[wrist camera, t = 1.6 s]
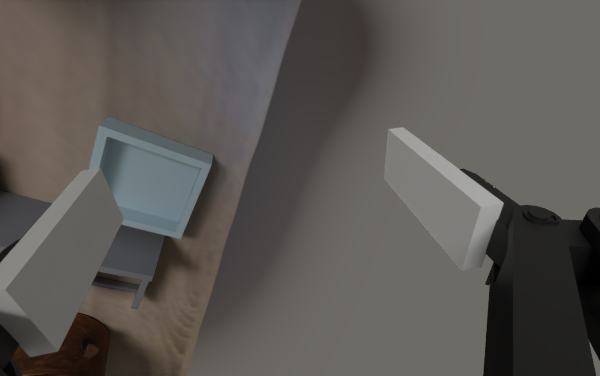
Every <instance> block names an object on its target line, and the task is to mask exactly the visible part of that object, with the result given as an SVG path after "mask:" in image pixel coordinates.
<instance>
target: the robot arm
mask: <svg viewBox="0 0 600 376" xmlns="http://www.w3.org/2000/svg"><path fill="white" fill-rule="evenodd" d="M384 179H385V180H386V182H387V183H388V184H389V185H390V187H391V188H392V189H393V190H394V191H395V192H396V194H397V195H398V196H399V197H400V198H401V200H402V201H403V202H404V203H405V204H406V206H407V207H408V208H409V209H410V210H411V211H412V213H413V214H414V215H415V216H416V217H417V218H418V220H419V221H420V222H421V223H422V225H423V226H424V227H425V228H426V229H427V230H428V232H429V233H430V234H431V235H432V236H433V238H434V239H435V240H436V241H437V242H438V243H439V245H440V246H441V247H442V248H443V249H444V251H445V252H446V253H447V254H448V255H449V257H450V258H451V259H452V260H453V261H454V263H455V264H456V265H457V266H458V267H459V268H460V270H461V271H463V270H468V269H472V268H477V267H481V266H482V264H483V261H484V258H485V255H486V254H487V255H488V256H489V257H490V258H491V259H492V260H493V261H494V262H493V265H492V268H491V270H490V273H489V276H488V278H487V281H486V285H489V284H490V290H489V303H488V317H487V332H486V346H485V359H484V374H483V376H596V373H595V368H594V364H593V359H592V354H591V350H590V345H589V341H590V343H591V345H592V347H593V349H594V351H595V353H596V354H597V356H598V358H599V360H600V208H592V209H589V210H588V212H587V213H586V215H585V217H584V219H583V221H582V220H562V219H561V218H560V217H559V216H558V215H556V214H555V213H554V212H551V211H549V210H547V209H545V208H541V207H538V206H531V205H523V206H520V205H518V204H517V203H516V202H514V201H513V200H511V199H510V198H509V197H507V196H506V195H504V194H503V193H502V192H500V191H499V190H498V189H496V188H493V186H492V185H491V184H489V183H488V182H485V180H484V179H482V178H481V177H479V176H478V175H477V174H475V173H472V172H470V171H467V170H465V169H458V168H457V167H455V166H454V165H453V164H451V163H450V162H449V161H447V160H446V159H444V158H443V157H442V156H441V155H439V154H438V153H437V152H435V151H434V150H433V149H431V148H430V147H429V146H427V145H426V144H425V143H423V142H422V141H421V140H419V139H418V138H417V137H415V136H414V135H413V134H411V133H410V132H409V131H407V130H406V129H405V128H403V127H402V128H395V129H388V138H387V149H386V159H385V170H384ZM123 220H124V218H123V215H122V213H121V211H120V209H119V207H118V205H117V202H116V200H115V198H114V196H113V194H112V192H111V190H110V187H109V185H108V183H107V181H106V179H105V177H104V175H103V172H102V170H101V168H97V169H90V170H82V171H81V172H80V173H79V174H78V175H77V176H76V177H75V179H74V180H73V181H72V182H71V183H70V184H69V185H68V187H67V188H66V189H65V190H64V191H63V192H62V193H61V194H60V196H59V197H58V198H57V199H56V200H55V201H54V202H53V204H52V205H51V206H50V207H49V208H48V209H47V210H46V211H45V213H44V214H43V215H42V216H41V217H40V218H39V219H38V221H37V222H36V223H35V224H34V225H33V226H32V227H31V228H30V230H29V231H28V232H27V233H26V234H25V235H24V236H23V238H22V239H18V240H17V241H15V242H14V243H12V244H11V245H9V246H8V247H7V248H5V249H4V250H2V252H1V253H0V376H22V374H21V371H20V369H19V367H18V365H17V364H16V363H15V362H14V361H13V360H12V359H11V358H12V356H13V355H14V353H15V351H16V350H17V348H18V347H19V346H20V347H21V348H22V349H23V350H24V351H25V352H26V353H27V354H28V355H29V356H30V357H34V356H39V355H44V354H49V353H53V352H58V351H59V349H60V347H61V345H62V343H63V341H64V339H65V337H66V335H67V333H68V331H69V329H70V327H71V325H72V323H73V321H74V319H75V317H76V314H77V312H78V310H79V308H80V306H81V304H82V302H83V300H84V298H85V296H86V294H87V292H88V290H89V288H90V286H91V284H92V282H93V280H94V278H95V276H96V274H97V272H98V270H99V268H100V266H101V264H102V262H103V260H104V258H105V256H106V254H107V252H108V250H109V248H110V246H111V244H112V242H113V240H114V238H115V236H116V234H117V232H118V230H119V228H120V226H121V224H122V222H123ZM588 339H589V340H588Z"/></svg>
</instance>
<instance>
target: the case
mask: <svg viewBox="0 0 600 376" xmlns="http://www.w3.org/2000/svg"><path fill="white" fill-rule="evenodd" d="M109 340H110V338H109V334H108V331H107V330H106V328H105V327H104V326H103V325H102V324H101V323H100V322H98V321H97V320H95V319H93V318H91V317H89V316H86V315H83V314H79V313H77V314H76V317H75V319H74V321H73V323H72V325H71V327H70V329H69V331H68V333H67V335H66V337H65V339H64V341H63V343H62V345H61V347H60V349H59V351H58V352H53V353H49V354H44V355H39V356H34V357H30V356H29V355H28V354H27V353H26V352H25V351H24V350H23V349H22V348H21V347H20V346H19V347H18V348H17V350H16V351H15V353H14V355H13V356H12V358H11V359H12V360H13V361H14V362H15V363H16V364H17V365H18V367H19V369H20V371H21V374H22V376H105V368H106V360H107V352H108V345H109Z"/></svg>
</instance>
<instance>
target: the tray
mask: <svg viewBox="0 0 600 376" xmlns="http://www.w3.org/2000/svg"><path fill="white" fill-rule="evenodd" d="M212 160H213V155H212V154H209V153H207V152H204V151H201V150H198V149H196V148H193V147H190V146H187V145H185V144H182V143H179V142H176V141H174V140H171V139H168V138H165V137H163V136H160V135H157V134H154V133H152V132H149V131H146V130H144V129H141V128H138V127H135V126H133V125H130V124H127V123H124V122H122V121H119V120H116V119H113V118H111V117H108V118H106V119H105V120H104V121H103V122H102V123H101V124H100V125H99V128H98V132H97V136H96V140H95V145H94V149H93V153H92V157H91V162H90V166H89V170H90V169H97V168H101V170H102V172H103V175H104V177H105V179H106V181H107V183H108V185H109V187H110V190H111V192H112V194H113V196H114V198H115V200H116V202H117V205H118V207H119V209H120V211H121V213H122V215H123V218H124V220H123V222H122V224H121V225H125V226H129V227H133V228H137V229H141V230H145V231H149V232H153V233H157V234H162V235H166V236H170V237H174V238H178V239H181V237H182V235H183V232H184V230H185V228H186V225H187V223H188V221H189V218H190V216H191V213H192V211H193V209H194V206H195V204H196V202H197V199H198V197H199V194H200V192H201V190H202V187H203V185H204V182H205V180H206V178H207V175H208V173H209V171H210V168H211V166H212Z"/></svg>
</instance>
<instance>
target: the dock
mask: <svg viewBox="0 0 600 376" xmlns="http://www.w3.org/2000/svg"><path fill="white" fill-rule="evenodd" d="M51 205H52V203H48V202H44V201H40V200H36V199H32V198H28V197H24V196H20V195H16V194H12V193H8V192H4V191H0V253H1V252H2V250H4V249H5V248H7V247H8V246H9V245H11V244H12V243H14V242H15V241H17V240H18V239H22V238H23V236H24V235H25V234H26V233H27V232H28V231H29V230H30V228H31V227H32V226H33V225H34V224H35V223H36V222H37V221H38V219H39V218H40V217H41V216H42V215H43V214H44V213H45V211H46V210H47V209H48V208H49V207H50V206H51ZM164 239H165V235H162V234H157V233H153V232H149V231H145V230H141V229H137V228H133V227H129V226H125V225H121V226H120V228H119V230H118V232H117V234H116V236H115V238H114V240H113V242H112V244H111V246H110V248H109V250H108V252H107V254H106V256H105V258H104V260H103V262H102V264H101V266H100V268H99V270H98V272H103V273H108V274H113V275H118V276H124V277H129V278H134V279H140V280H141V281H140V284H139V285H136V284H131V283H126V282H120V281H115V280H109V279H104V278H98V277H95V278H94V280H93V282H92V284H91V285H94V286H99V287H105V288H111V289H117V290H122V291H128V292H134V293H136V295H135V298H134V301H133V304H132V307H131V308H134V309H138V308H139V305H140V303H141V300H142V297H143V295H144V292H145V290H146V287H147V285H148V282H149V281H150V282H152V279H153V276H154V273H155V270H156V266H157V263H158V259H159V256H160V252H161V249H162V246H163V242H164Z"/></svg>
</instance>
